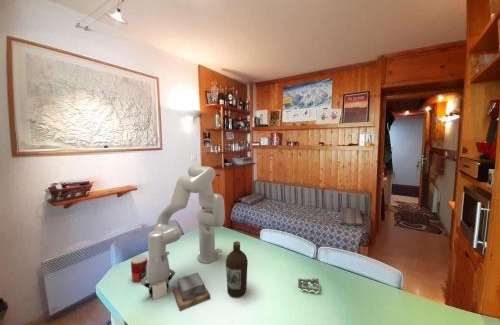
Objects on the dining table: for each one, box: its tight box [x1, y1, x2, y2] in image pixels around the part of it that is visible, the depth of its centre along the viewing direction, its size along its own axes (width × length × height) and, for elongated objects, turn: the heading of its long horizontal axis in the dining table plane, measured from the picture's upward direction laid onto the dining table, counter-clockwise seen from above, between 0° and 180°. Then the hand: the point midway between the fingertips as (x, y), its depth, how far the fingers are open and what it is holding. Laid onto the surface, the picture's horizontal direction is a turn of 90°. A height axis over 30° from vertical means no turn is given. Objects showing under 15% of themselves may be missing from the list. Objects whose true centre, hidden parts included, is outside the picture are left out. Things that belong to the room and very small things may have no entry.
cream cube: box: [152, 279, 168, 301], centre depth 103 cm, size 6×6×6 cm
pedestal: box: [172, 272, 211, 312], centre depth 102 cm, size 14×14×7 cm
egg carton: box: [297, 277, 321, 292], centre depth 107 cm, size 11×8×4 cm
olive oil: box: [225, 240, 249, 299], centre depth 103 cm, size 11×11×25 cm
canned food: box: [130, 254, 148, 283], centre depth 114 cm, size 8×8×11 cm
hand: (159, 291), depth 103 cm, fingers closed on cream cube, 6 cm apart
